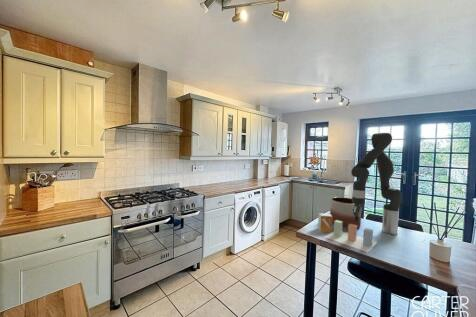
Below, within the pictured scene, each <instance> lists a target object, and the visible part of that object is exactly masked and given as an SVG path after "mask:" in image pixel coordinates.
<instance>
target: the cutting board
mask: <svg viewBox="0 0 476 317" xmlns="http://www.w3.org/2000/svg"><path fill="white" fill-rule="evenodd" d="M324 239H328V240H331V241H334V242H337V243H340V244H342V245H346V246H348V247H351V248H354V249H357V250H360V251H363V252H366V253H369V252H370V251H371V250H372V249H373V248H374V247H375V246H376V244H377V243H378V241H375V240H372V246H371V247H368V246H365V245H363V237H361V236H359V235H357V236H356V241H355V242H352V241H349V240H348V232H345V231H342V236H341V237H337V236H334V230H332V232H329V234H327V235H325V236H324Z"/></svg>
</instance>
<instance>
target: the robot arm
mask: <svg viewBox="0 0 476 317" xmlns="http://www.w3.org/2000/svg"><path fill="white" fill-rule="evenodd" d="M370 141H371V144H372V149H371V150H369V151H367V152H366V153H365V154H364V156H363V157H362V159H361V160H360V161H359V162H358V163H356V164H355V166H353V167H352V169H351V171H350V172H351V176H352V177H353V178H357V179H358V178H359V179H358V180H355V181H353V184H352V187H353V188H352V194H351V197H352V198H351V199H352V203H354V204H355V206H354V209H353V213H354V215H355V221H356V222H359V216H360V215H361V216H362V212H363V208H364V207H363V206H362V205H365V203H366V184H367V182H368V179H369V177H370V170H369V168H370V169H371V167H372V166H373V164H374V163H375V161H376V166H377V170H378V174H379V182H380V193H381V194H380V195H381V197H382V198H383V199H385V200H387V201H389V203H385V204H383V208H382V209H383V210H382V226H381V231H382V232H383V233H385V234H389V235H398V231H399V228H398V227H399V214H400V213H399V211H400V208H401V202H402V192H401V190H400V189H399V188H394V187H391V186H390V181H391V178H392V176H393V174H394V172H395V168H394V163H393V161H392V159H391V157H389V155H387V154H386V153H385V150H386V149H387V148H388V147H389V146H390V145H391V143H392V141H393V136H392V134H391V133H390V132H378V133H377V132H376V133H373V134H372V136H371V139H370Z"/></svg>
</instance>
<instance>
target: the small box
mask: <svg viewBox="0 0 476 317" xmlns="http://www.w3.org/2000/svg"><path fill="white" fill-rule="evenodd" d="M332 218H333V216H331V215H330V213H323V212H321V213H319V212H318V220H317V223H318V224H317V229H318V232H320V233H332V232H333V224H332Z"/></svg>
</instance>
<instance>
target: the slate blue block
mask: <svg viewBox="0 0 476 317" xmlns="http://www.w3.org/2000/svg"><path fill="white" fill-rule="evenodd" d="M373 234H374V229H372V228H368V227H365V228H363V235H362V236H363V237H362V238H363V245H365V246H368V247H371V246H372V241H373V237H374V235H373Z"/></svg>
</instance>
